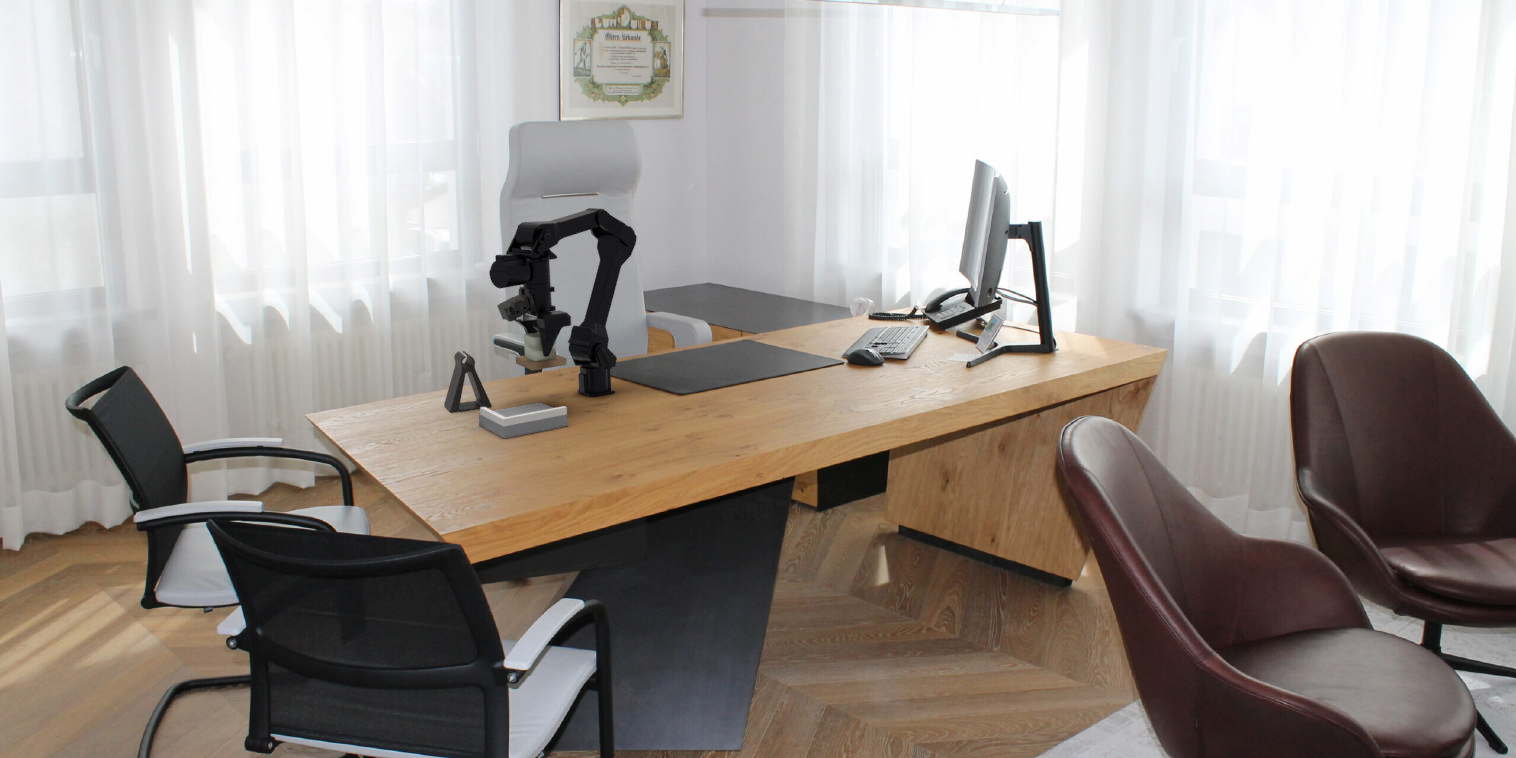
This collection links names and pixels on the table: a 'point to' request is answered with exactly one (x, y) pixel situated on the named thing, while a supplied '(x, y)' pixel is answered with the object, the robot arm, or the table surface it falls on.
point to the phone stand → (458, 381)
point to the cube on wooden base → (538, 354)
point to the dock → (522, 419)
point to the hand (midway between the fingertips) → (540, 354)
